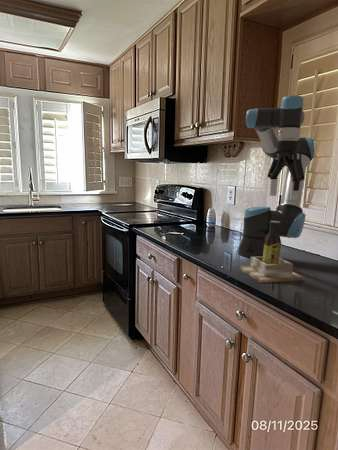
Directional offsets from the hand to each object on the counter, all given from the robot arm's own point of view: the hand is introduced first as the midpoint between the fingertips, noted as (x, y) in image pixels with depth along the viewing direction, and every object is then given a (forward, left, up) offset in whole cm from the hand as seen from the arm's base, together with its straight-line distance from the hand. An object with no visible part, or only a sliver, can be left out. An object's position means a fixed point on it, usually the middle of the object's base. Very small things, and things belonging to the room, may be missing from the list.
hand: (282, 197), depth 121 cm
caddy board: (+1, -3, -30) cm, 30 cm away
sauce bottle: (+1, -3, -29) cm, 29 cm away
